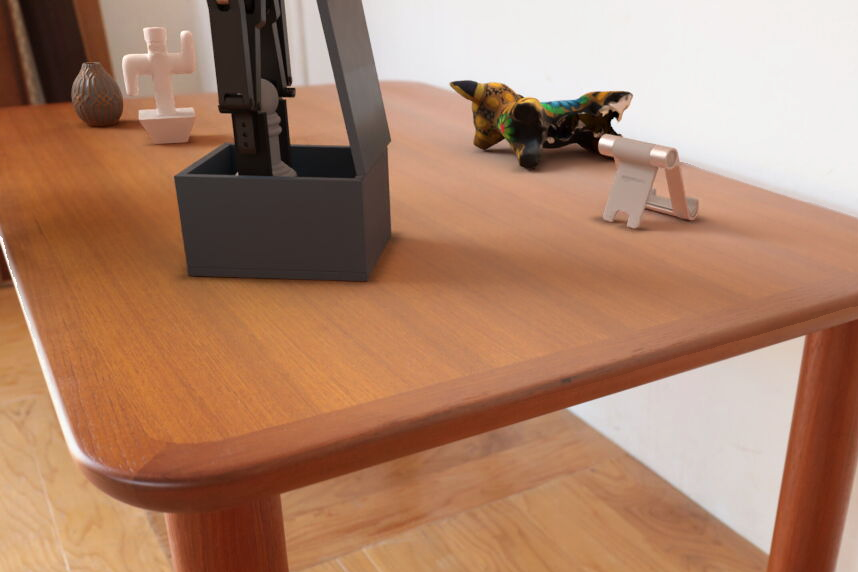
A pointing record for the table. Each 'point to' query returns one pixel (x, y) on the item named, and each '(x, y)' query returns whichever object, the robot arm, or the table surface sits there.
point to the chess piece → (274, 129)
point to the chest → (285, 216)
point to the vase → (96, 96)
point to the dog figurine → (540, 119)
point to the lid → (355, 80)
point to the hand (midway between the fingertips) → (267, 180)
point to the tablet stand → (644, 180)
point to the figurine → (162, 85)
